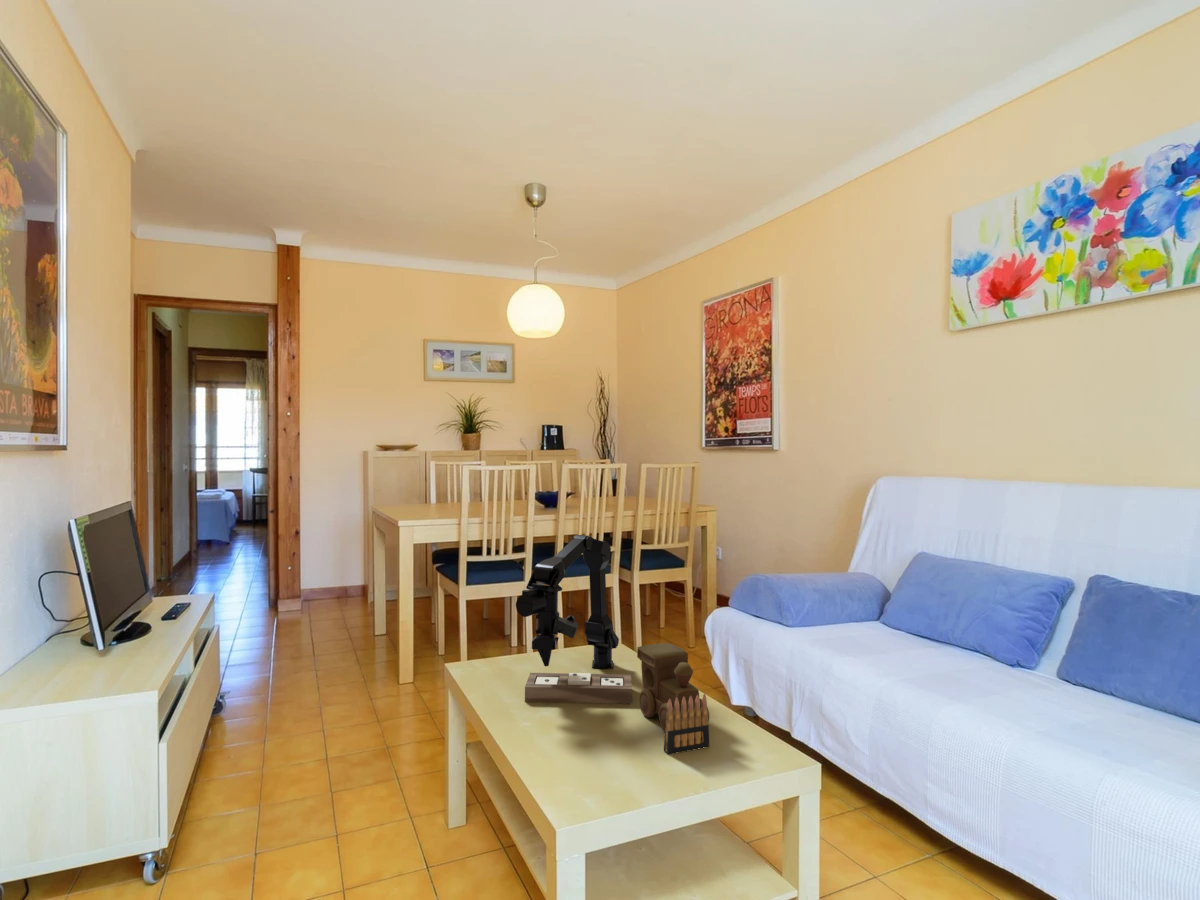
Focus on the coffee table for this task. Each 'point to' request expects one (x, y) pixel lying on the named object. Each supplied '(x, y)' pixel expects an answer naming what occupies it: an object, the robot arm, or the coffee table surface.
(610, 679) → the three dot tile
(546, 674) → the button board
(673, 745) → the ammunition clip
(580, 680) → the two dot tile
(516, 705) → the coffee table surface
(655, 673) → the wooden toy train
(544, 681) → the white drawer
